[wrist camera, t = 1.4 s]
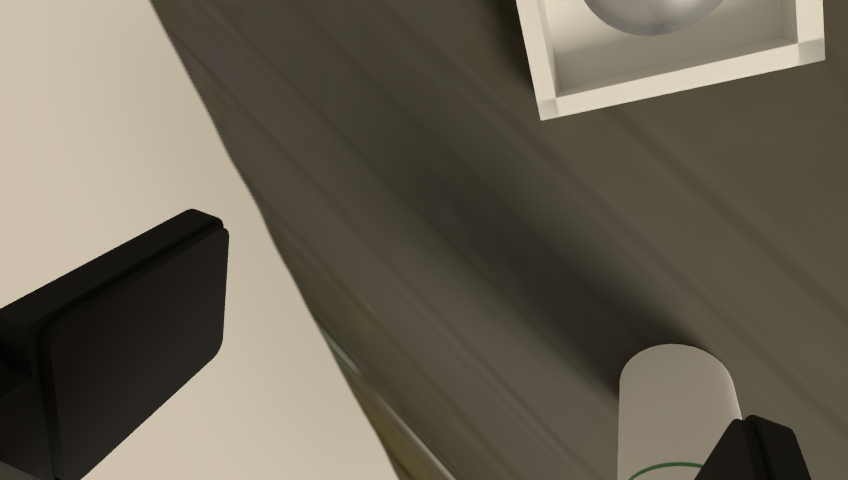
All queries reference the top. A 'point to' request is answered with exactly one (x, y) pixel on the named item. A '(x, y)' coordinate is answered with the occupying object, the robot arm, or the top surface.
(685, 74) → the caddy
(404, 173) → the top surface
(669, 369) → the cylindrical container
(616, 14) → the metal canister
